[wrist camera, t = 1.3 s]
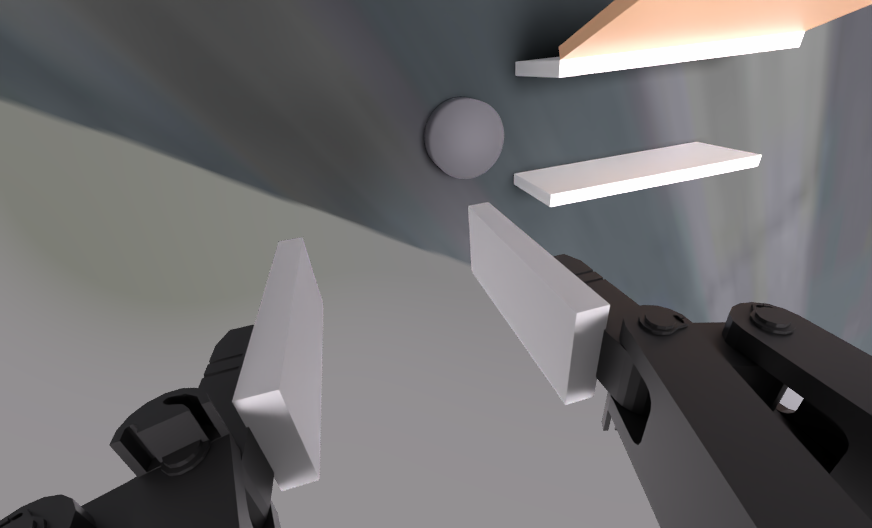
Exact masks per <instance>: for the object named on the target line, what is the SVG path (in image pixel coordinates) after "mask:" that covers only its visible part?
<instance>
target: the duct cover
mask: <svg viewBox="0 0 872 528" xmlns="http://www.w3.org/2000/svg"><path fill="white" fill-rule="evenodd" d="M870 4H872V0H614V1H613V2H612V3H611V4H609V5H608V6H607V7H606V8H605V9H603V10H602V11H601V12H600V13H599V14H597V15H596V16H595V17H594V18H593V19H591V20H590V21H589V22H588V23H587V24H585V25H584V26H583V27H582V28H581V29H579V30H578V31H577V32H576V33H575V34H573V35H572V36H571V37H570V38H569V39H567V40H566V41H565V42H564V43H563V44H561V45H560V46H559V55H560V60H566V59H574V58H583V57H591V56H600V55H608V54H617V53H625V52H633V51H642V50H650V49H659V48H667V47H676V46H684V45H692V44H701V43H709V42H718V41H726V40H735V39H743V38H751V37H760V36H768V35H777V34H785V33H794V32H802V31H807V30H809V29H811V28H814V27H816V26H819V25H821V24H824V23H826V22H829V21H831V20H834V19H836V18H839V17H841V16H843V15H846V14H848V13H851V12H853V11H856V10H858V9H861V8H863V7H866V6H868V5H870Z"/></svg>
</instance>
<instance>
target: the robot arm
mask: <svg viewBox="0 0 872 528" xmlns="http://www.w3.org/2000/svg"><path fill="white" fill-rule="evenodd" d="M468 212H469V231H470V250H471V268H472V273H473V274H474V276H475V277H476V278H477V280H478V281H479V283H480V284H481V285H482V287H483V288H484V290H485V291H486V293H487V294H488V296H489V297H490V298H491V300H492V301H493V303H494V304H495V305H496V307H497V308H498V310H499V311H500V313H501V314H502V315H503V317H504V318H505V320H506V321H507V323H508V324H509V326H510V327H511V328H512V330H513V331H514V333H515V334H516V335H517V337H518V338H519V340H520V341H521V343H522V344H523V346H524V347H525V348H526V350H527V351H528V352H529V354H530V355H531V357H532V358H533V360H534V361H535V363H536V364H537V365H538V367H539V368H540V370H541V371H542V372H543V374H544V375H545V377H546V378H547V380H548V381H549V383H550V384H551V385H552V387H553V388H554V390H555V391H556V393H557V394H558V395H559V397H560V398H561V400H562V401H563V403H564V404H565V405H567V404H570V403H573V402H577V401H580V400H583V399H586V398H590V397H593V396H594V392H595V386H596V380H597V379H598V380H599V381H600V382H601V384H602V385H603V386H604V387H605V388H606V390H607V391H608V394H607V399H606V404H605V409H604V414H603V418H602V426H603V430H604V431H605V430H608V429H609V424H610V420H611V417H612V420H613V422H614V424H615V430H617V431H618V433H619V435H620V438H621V439H622V442H623V444H624V446H625V449H626V451H627V453H628V456H629V458H630V460H631V462H632V465H633V467H634V469H635V471H636V473H637V476H638V478H639V480H640V482H641V485H642V487H643V489H644V491H645V494H646V496H647V498H648V500H649V502H650V505H651V507H652V509H653V511H654V514H655V516H656V518H657V521H658V523H659V525H660V527H661V528H872V356H871V355H869V354H867V353H865V352H864V351H862V350H860V349H858V348H856V347H855V346H853V345H851V344H849V343H847V342H846V341H844V340H842V339H840V338H838V337H837V336H835V335H833V334H831V333H829V332H828V331H826V330H824V329H822V328H820V327H819V326H817V325H815V324H813V323H811V322H810V321H808V320H806V319H804V318H802V317H801V316H799V315H797V314H795V313H792V312H790V311H788V310H786V309H783V308H780V307H776V306H773V305H770V304H764V303H763V304H762V303H754V302H750V303H740V304H738V305H735V306H733V307H732V309H731V311H730V313H729V316H728V318H727V321H726V322H722V323H692V322H691V321H690V320H688V319H687V318H686V317H685V316H683V315H682V314H680V313H677V312H675V311H673V310H671V309H668V308H664V307H660V306H652V305H641V306H639V305H638V304H637V303H636V302H634V301H633V300H632V299H630V298H629V297H628V296H626V295H625V294H624V293H622V292H621V291H620V290H619V289H617V288H616V287H615V286H613V285H612V284H611V283H609V282H608V281H607V280H605V279H604V280H603V277H602V276H600V275H599V274H598V273H596V272H593V270H592V269H591V268H590V267H588V266H587V265H586V264H585V263H583V262H582V261H581V260H578V259H575V258H573V257H570V256H568V255H565V254H562V255H558V256H552V255H551V254H549V253H548V252H547V251H546V250H545V249H544V248H542V247H541V246H540V245H539V244H538V243H536V242H535V241H534V240H533V239H532V238H530V237H529V236H528V235H527V234H526V233H524V232H523V231H522V230H521V229H520V228H519V227H517V226H516V225H515V224H514V223H513V222H511V221H510V220H509V219H508V218H507V217H505V216H504V215H503V214H502V213H501V212H500V211H498V210H497V209H496V208H495V207H494V206H492V205H491V204H490V203H489V202H486V203H480V204H475V205H470V206H468ZM322 348H323V301H322V298H321V295H320V292H319V288H318V285H317V282H316V278H315V275H314V272H313V269H312V266H311V262H310V259H309V256H308V253H307V249H306V246H305V243H304V240H303V237H300V238H294V239H289V240H283V241H279V242H278V245H277V248H276V252H275V255H274V259H273V262H272V266H271V269H270V272H269V276H268V279H267V283H266V286H265V290H264V293H263V297H262V300H261V304H260V307H259V310H258V314H257V317H256V321H255V324H254V325H250V326H246V327H242V328H237V329H233V330H230V331H229V332H228V333H227V334H226V335H225V336H224V337H223V338H222V339H221V340H220V341H219V342H218V344H217V345H216V346H215V348H214V351H213V353H212V356H211V358H210V361H209V362H210V364H208V366H207V368H206V371H205V373H204V378H203V379H202V380H201V383H200V385H199V388H182V389H178V390H175V391H172V392H168V393H165V394H163V395H161V396H159V397H157V398H155V399H153V400H151V401H149V402H147V403H146V404H145V405H143V406H142V407H141V408H139V409H138V410H137V411H135V412H134V413H133V414H131V415H130V416H129V417H128V418H127V419H126V420H125V422H124V423H123V424H122V425H121V426H120V427H119V428H118V429H117V431H116V432H115V435H114V437H113V439H112V441H111V443H110V446H111V447H112V449H113V450H114V451H115V452H116V453H117V454H118V455H119V456H120V457H121V459H122V460H123V461H124V462H125V463H126V464H127V465H128V467H130V469H131V470H132V471H133V472H134V473H135V474H136V476H137V477H135V478H134V479H132V480H130V481H129V482H127V483H125V484H123V485H121V486H119V487H117V488H115V489H113V490H111V491H110V492H108V493H106V494H104V495H102V496H100V497H98V498H96V499H94V500H92V501H90V502H88V503H87V504H84V505H83V506H80V505H79V504H78V503H77V502H75V501H74V500H73V499H72V498H69V497H67V496H64V495H55V496H49V497H43V498H41V499H39V500H36V501H34V502H32V503H29V504H28V505H25V506H23V507H21V508H19V509H18V510H16V511H15V512H13V513H11V514H10V515H8V516H7V517H5V518H4V519H2V520H0V528H280V523H279V518H278V513H277V511H276V509H275V507H274V505H273V503H272V501H271V493H272V486H273V478H275V480H276V481H277V483H278V485H279V487H280V489H281V490H282V491H284V490H287V489H291V488H294V487H297V486H301V485H304V484H307V483H311V482H314V481H317V480H319V479H320V438H321V437H320V435H321V395H322V350H323V349H322ZM788 387H789V388H790V389H792V390H793V391H795V392H796V393H797V394H799V395H800V396H801V397H803V398H804V399H803V401H802V402H801V404H800V406H799V407H798V409H797V410H796V411H794V410H790V409H788V408H786V407H785V406H783V405H782V404H780V403H779V402H780V400H781V398H782V396H783V395H784V393H785V391H786V389H787V388H788Z"/></svg>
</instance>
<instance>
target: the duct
mask: <svg viewBox="0 0 872 528" xmlns="http://www.w3.org/2000/svg"><path fill="white" fill-rule="evenodd" d="M804 32H805V31H802V32H794V33H785V34H777V35H768V36H760V37H751V38H743V39H735V40H726V41H718V42H709V43H701V44H692V45H684V46H676V47H667V48H659V49H650V50H642V51H633V52H625V53H617V54H608V55H600V56H591V57H583V58H574V59H566V60H560V57H552V58H543V59H534V60H526V61H517V62H515V76H531V77H555V78H560V77H568V76H576V75H584V74H592V73H599V72H607V71H615V70H623V69H631V68H638V67H646V66H654V65H662V64H670V63H678V62H685V61H693V60H701V59H709V58H717V57H724V56H732V55H740V54H748V53H756V52H763V51H771V50H779V49H787V48H795V47H800V44H801V41H802V38H803V35H804ZM760 158H761V155H760V154H755V153H750V152H745V151H740V150H735V149H730V148H725V147H720V146H715V145H710V144H705V143H700V142H692V143H686V144H680V145H675V146H669V147H663V148H657V149H652V150H646V151H640V152H635V153H629V154H623V155H617V156H612V157H606V158H600V159H595V160H589V161H583V162H577V163H572V164H566V165H560V166H555V167H549V168H543V169H537V170H532V171H526V172H520V173H515V174H514V185H516V186H517V187H519V188H521V189H522V190H524V191H525V192H527V193H529V194H530V195H532V196H533V197H535V198H537V199H538V200H540V201H541V202H543V203H545V204H546V205H548V206H549V207H553V206H558V205H563V204H568V203H574V202H579V201H584V200H589V199H594V198H599V197H604V196H609V195H614V194H619V193H624V192H630V191H635V190H640V189H645V188H650V187H655V186H660V185H665V184H670V183H675V182H681V181H686V180H691V179H696V178H701V177H706V176H711V175H716V174H721V173H726V172H731V171H737V170H742V169H747V168H752V167H757V166H758V164H759V161H760Z"/></svg>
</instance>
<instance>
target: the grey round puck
mask: <svg viewBox="0 0 872 528" xmlns="http://www.w3.org/2000/svg"><path fill="white" fill-rule="evenodd" d="M424 138H425V146H426V149H427V152H428V154H429V156H430V158H431V159H432V160H433V162H434V163H435V164H436V165H437V166H439V167H440V168H441V169H442V170H443V171H444V172H445V173H447V174H448V175H450V176H452V177H455V178H459V179H471V178H475V177H477V176H480V175H481V174H483V173H485V172H486V171H488V170H489V169H490V168H491V167H492V166H493V165H494V163H495V162H496V160H497V159H498V157H499V155H500V153H501V150H502V147H503V142H504V129H503V124H502V121H501V119H500V117H499V115H498V114H497V112H496V111H495V110H494V109H493V108H492V107H491V106H490V105H488V104H487V103H485V102H482V101H479V100H475V99H471V98H467V97H455V98H451V99H448V100H446V101H444V102H443V103H441V104H440V105H439V106H438V107H437V108H436V109H435V110H434V111H433V112H432V114H431V115H430V117H429V119H428V121H427V124H426V128H425V136H424Z"/></svg>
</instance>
